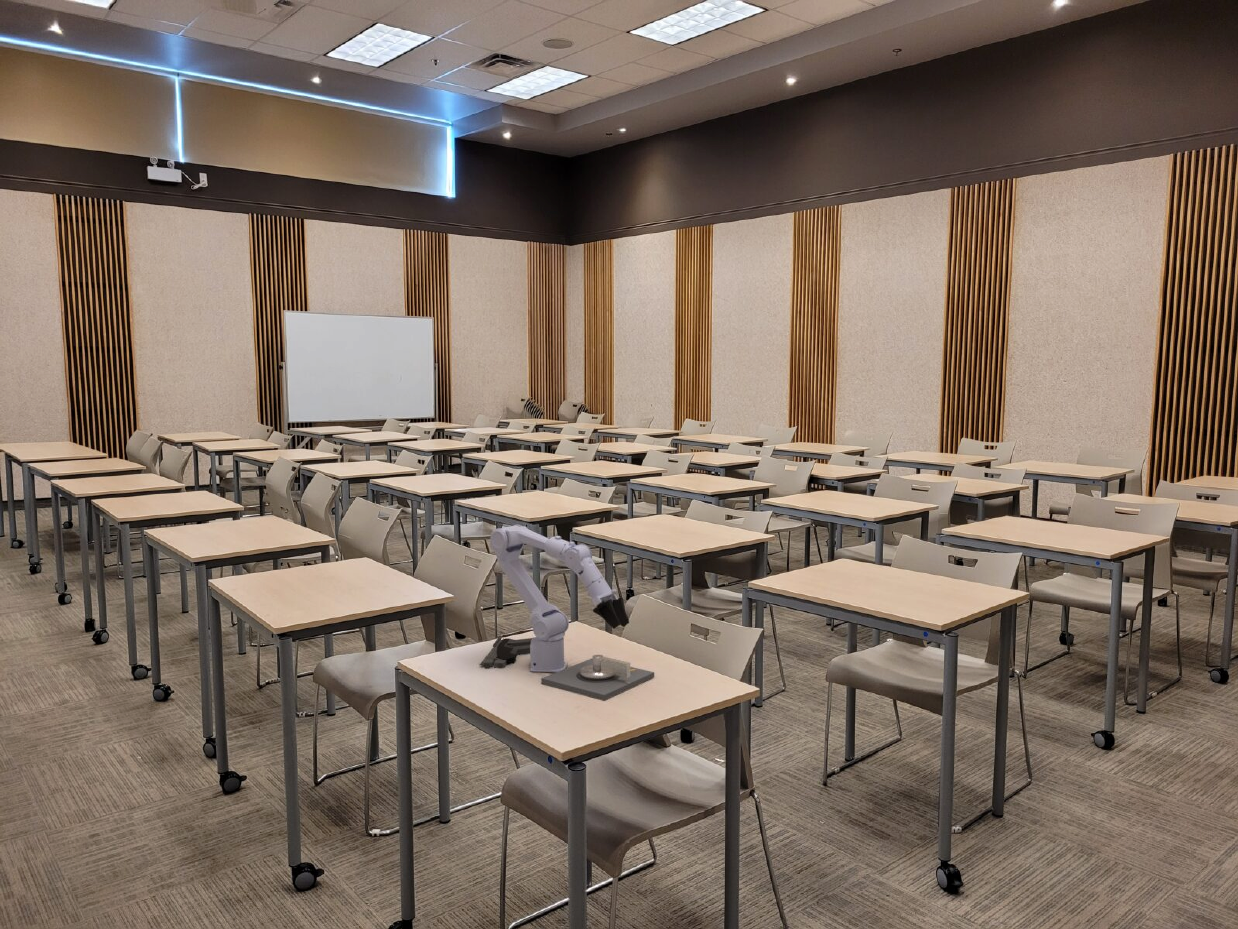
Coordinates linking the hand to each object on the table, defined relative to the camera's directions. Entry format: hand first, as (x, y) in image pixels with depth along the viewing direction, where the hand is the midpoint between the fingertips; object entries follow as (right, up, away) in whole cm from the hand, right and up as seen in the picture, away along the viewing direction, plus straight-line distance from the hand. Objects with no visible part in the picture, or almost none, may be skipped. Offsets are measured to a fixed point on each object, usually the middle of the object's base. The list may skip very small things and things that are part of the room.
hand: (621, 625), depth 237 cm
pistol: (-33, -15, +28) cm, 45 cm away
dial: (-4, -14, +2) cm, 15 cm away
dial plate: (-6, -16, +4) cm, 17 cm away
